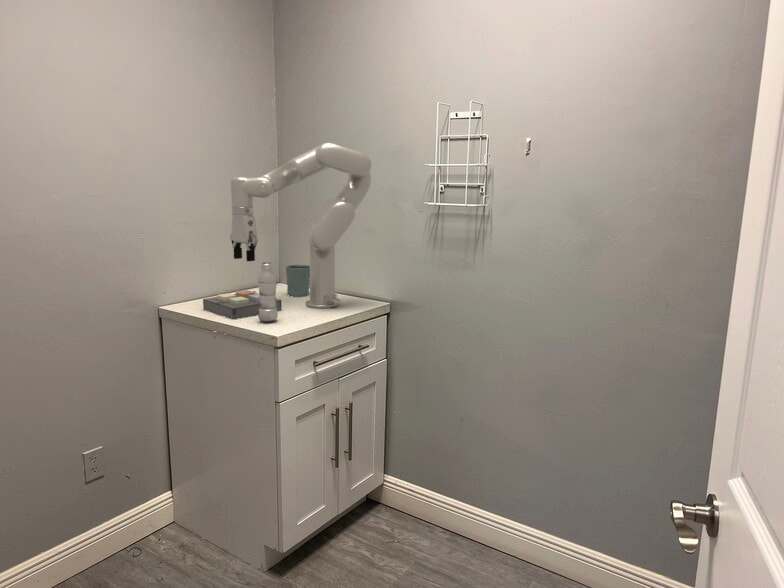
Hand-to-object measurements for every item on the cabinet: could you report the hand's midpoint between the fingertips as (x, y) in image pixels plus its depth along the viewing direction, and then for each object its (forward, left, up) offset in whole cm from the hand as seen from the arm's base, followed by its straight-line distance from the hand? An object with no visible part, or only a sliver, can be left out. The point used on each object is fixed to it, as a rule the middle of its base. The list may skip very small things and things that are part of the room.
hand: (244, 259), depth 215 cm
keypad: (-4, +4, -18) cm, 19 cm away
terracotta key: (0, 0, -15) cm, 15 cm away
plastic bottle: (-24, +7, -18) cm, 31 cm away
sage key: (-8, +8, -15) cm, 19 cm away
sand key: (0, +8, -15) cm, 17 cm away
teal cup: (+4, -28, -18) cm, 33 cm away
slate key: (-8, 0, -15) cm, 17 cm away
